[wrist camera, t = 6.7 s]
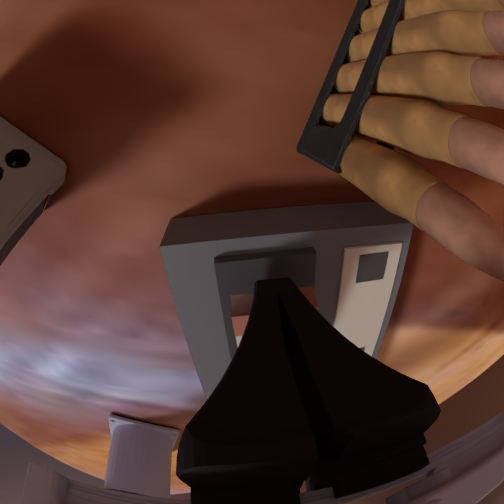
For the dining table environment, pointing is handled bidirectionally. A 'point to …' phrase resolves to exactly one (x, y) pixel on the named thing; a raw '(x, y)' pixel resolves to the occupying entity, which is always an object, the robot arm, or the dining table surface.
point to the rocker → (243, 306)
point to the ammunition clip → (417, 115)
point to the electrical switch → (23, 183)
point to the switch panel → (284, 271)
